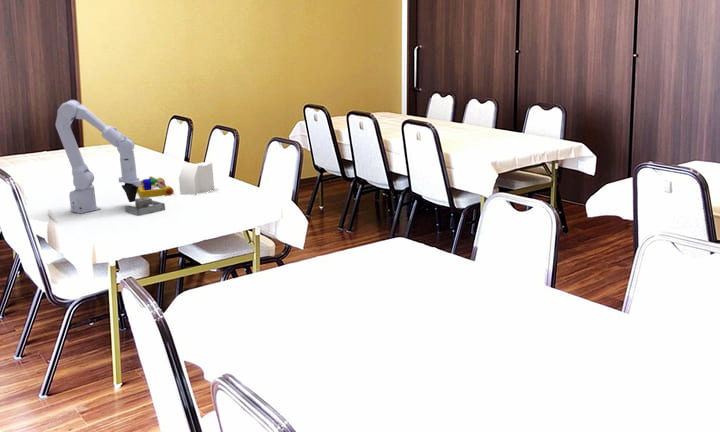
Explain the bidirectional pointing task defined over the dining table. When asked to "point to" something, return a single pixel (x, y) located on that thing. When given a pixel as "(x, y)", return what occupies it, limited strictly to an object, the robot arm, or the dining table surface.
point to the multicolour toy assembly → (148, 192)
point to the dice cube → (142, 202)
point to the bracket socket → (146, 208)
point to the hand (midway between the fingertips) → (132, 201)
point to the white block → (196, 178)
